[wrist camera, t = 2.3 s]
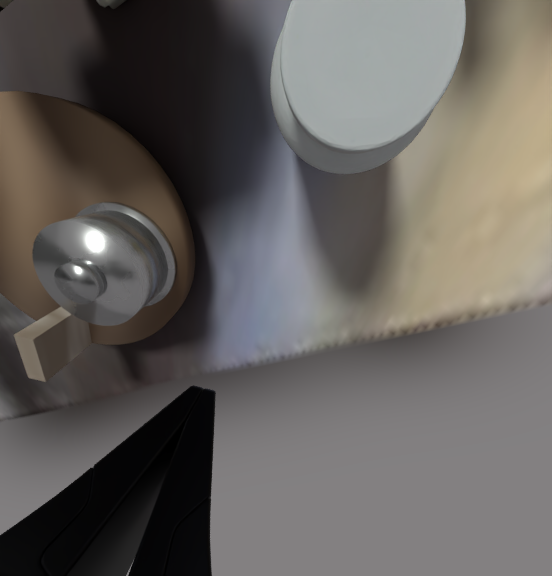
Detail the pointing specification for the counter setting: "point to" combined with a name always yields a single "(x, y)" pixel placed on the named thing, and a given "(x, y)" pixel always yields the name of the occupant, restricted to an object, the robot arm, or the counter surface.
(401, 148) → the supplement bottle
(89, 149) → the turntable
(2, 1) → the pneumatic valve
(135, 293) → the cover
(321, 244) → the counter surface
